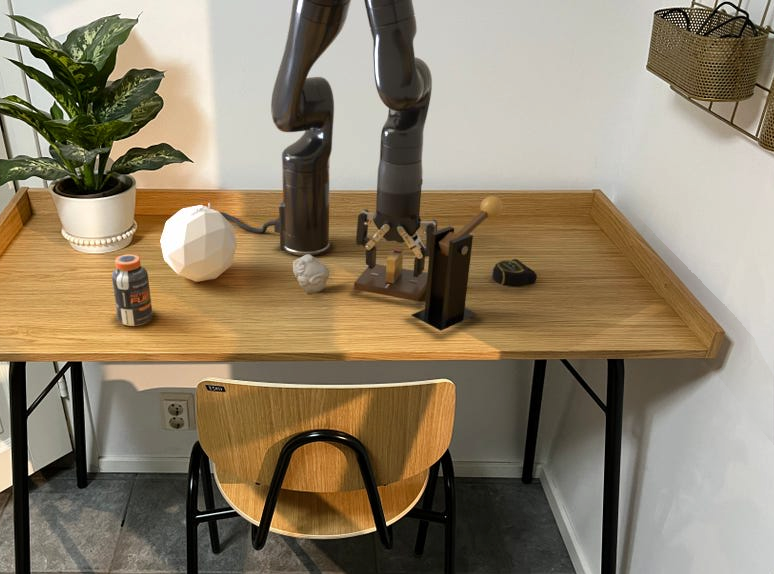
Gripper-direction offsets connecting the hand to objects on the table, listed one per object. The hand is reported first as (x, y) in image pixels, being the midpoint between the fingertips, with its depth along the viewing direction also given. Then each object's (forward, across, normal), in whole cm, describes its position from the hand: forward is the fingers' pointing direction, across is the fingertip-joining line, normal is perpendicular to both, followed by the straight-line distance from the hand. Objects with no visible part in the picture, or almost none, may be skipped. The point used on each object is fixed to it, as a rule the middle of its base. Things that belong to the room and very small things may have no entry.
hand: (394, 271), depth 139 cm
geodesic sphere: (+4, -35, -9) cm, 37 cm away
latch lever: (-11, +14, -3) cm, 18 cm away
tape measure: (+4, +19, +12) cm, 23 cm away
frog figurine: (+4, -14, -7) cm, 16 cm away
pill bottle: (+4, -37, -28) cm, 47 cm away
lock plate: (+4, 0, 0) cm, 4 cm away
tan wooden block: (+1, 0, 0) cm, 1 cm away
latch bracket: (+4, +12, -8) cm, 14 cm away
